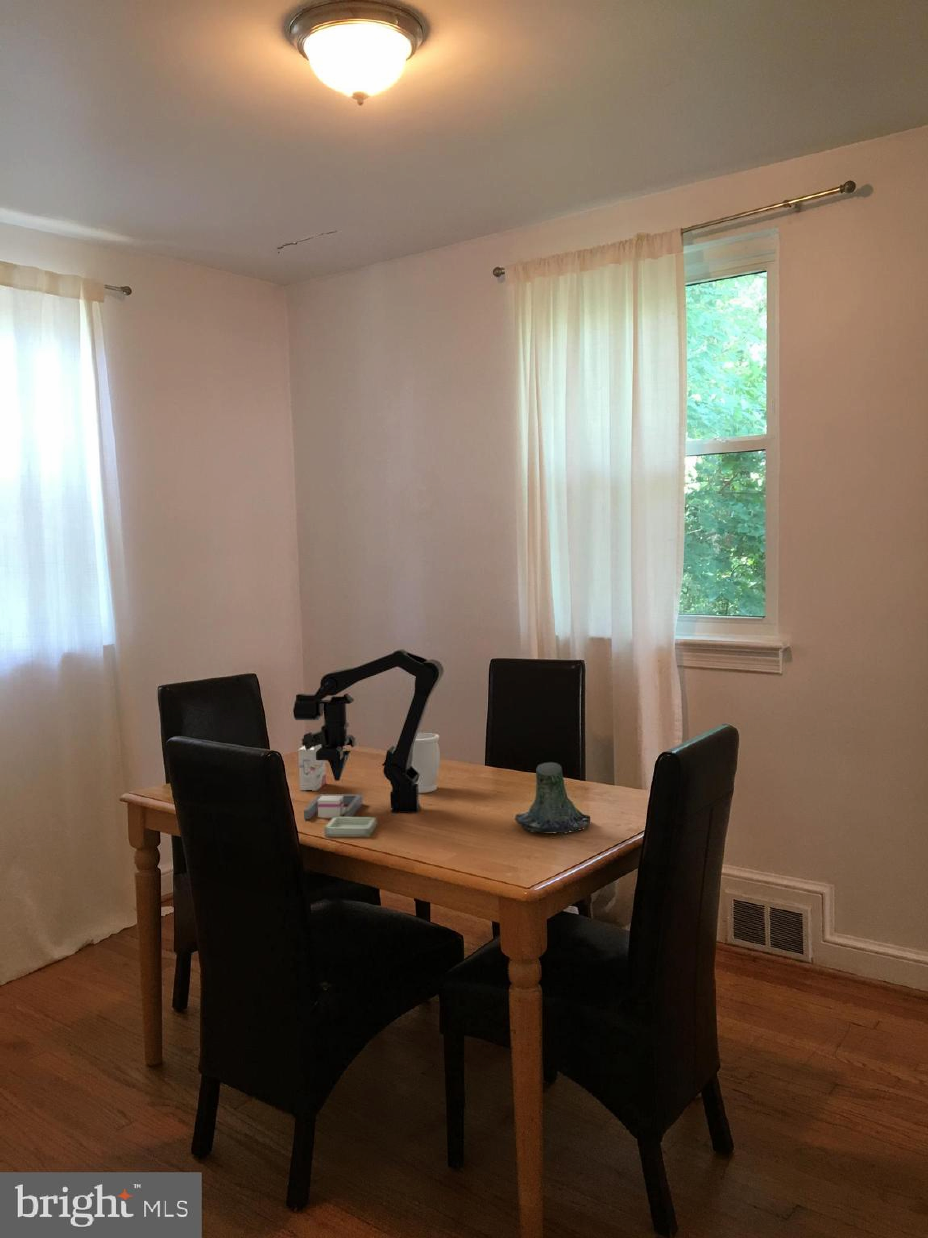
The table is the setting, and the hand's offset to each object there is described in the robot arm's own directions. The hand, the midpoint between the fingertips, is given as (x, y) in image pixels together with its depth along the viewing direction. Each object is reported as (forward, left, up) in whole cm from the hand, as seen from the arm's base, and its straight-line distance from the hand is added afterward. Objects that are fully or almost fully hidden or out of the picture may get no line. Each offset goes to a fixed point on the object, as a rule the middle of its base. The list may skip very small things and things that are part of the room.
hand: (337, 780), depth 251 cm
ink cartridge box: (+12, -21, -7) cm, 25 cm away
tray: (-8, +20, -7) cm, 23 cm away
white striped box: (0, +7, -7) cm, 10 cm away
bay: (0, +4, -7) cm, 8 cm away
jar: (-19, -19, -7) cm, 28 cm away
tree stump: (-55, +13, -8) cm, 57 cm away
